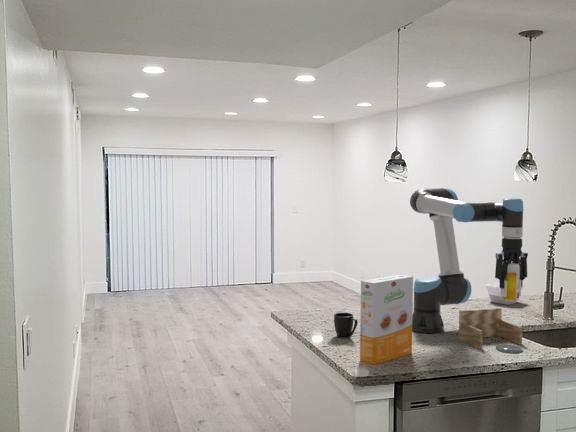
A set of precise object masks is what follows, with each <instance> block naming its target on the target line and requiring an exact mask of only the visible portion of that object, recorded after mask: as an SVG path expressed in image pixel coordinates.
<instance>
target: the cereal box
mask: <svg viewBox="0 0 576 432" xmlns="http://www.w3.org/2000/svg"><path fill="white" fill-rule="evenodd" d="M413 312H414V276H411V275H405V274H396V275H389V276H383V277H376V278H371V279H364V280H360V321H359V322H360V324H359V325H360V327H359V329H360V330H359V332H360V333H359V336H360V337H359V339H360V341H359V360H360V362H363V363H367V364H370V365H376V364H380V363H382V362H385V361H389V360H392V359H396V358H399V357H402V356H406V355H410V354H412V353H413V351H412V350H413V330H412V315H413Z"/></svg>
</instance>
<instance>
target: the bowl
mask: <svg viewBox="0 0 576 432" xmlns="http://www.w3.org/2000/svg"><path fill="white" fill-rule="evenodd" d="M499 284H500V281H499V282H498V281H497V282H495V281H494V282H489V283H487V284H486V285H485V287H486V291H487V293H488V296H489V298H490V302H492V303H496V304H500V305H514V304H516V303H517V302H507V301H504V299H503V297H502V296H501V288H500V287H499ZM523 287H524V286H523V285H522V287H521V291H522V290H523Z"/></svg>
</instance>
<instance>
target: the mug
mask: <svg viewBox="0 0 576 432" xmlns="http://www.w3.org/2000/svg"><path fill="white" fill-rule="evenodd" d="M358 321H359V320H358V319H356V318H354V314H353V313H350V312H336V313H334V314H333V324H334V329H335V333H336V334H335V335H336V337H337V338H340V339H349V338H351V337H352V336H353V335H354V332H355V331H356V328H357V326H358Z"/></svg>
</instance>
